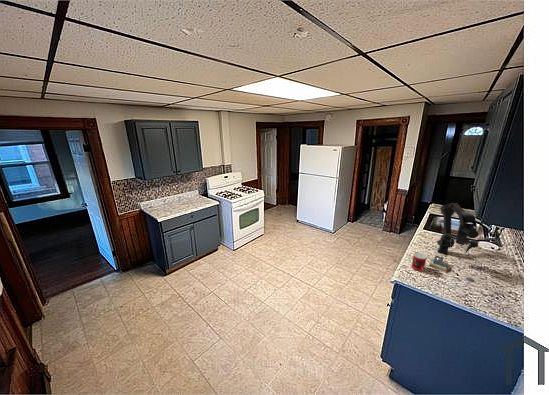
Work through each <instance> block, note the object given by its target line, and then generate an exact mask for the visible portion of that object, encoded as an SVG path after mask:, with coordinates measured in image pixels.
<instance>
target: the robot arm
mask: <svg viewBox="0 0 549 395" xmlns="http://www.w3.org/2000/svg"><path fill="white" fill-rule="evenodd" d="M440 213H441V215H442V216H443V226H442V227H443V229H442V230H443V233H442V235H441V236H440V239H439V240H437V242H436V243H437V245H438V249H437V253H439V254H443V255H445V256H448V253H449V249H450V248H453V246H454V245H455V244H457V245H461V246H465V245H467V247H466V250H465V252H464V253H466V254H467V253H468V252H469V251H470V249H473V248H474V249H475V248H478V247H479V240H475V239H476V238H478V237H479V235H480V234H479V231H477V228H476V227H477V220H476V217H475V215H474V214H471V213H469V212H467V211H466V210H465V209H463V208H462V207H461V206H460V205H459V203H457V202H451V203H450V202H449V203H447V204H443V205H441V206H440ZM454 214H456V215H458V223H459V226H458V229H457V233H456V236H453V234H452V216H453V215H454ZM468 237H469V238H468ZM470 239H471V240H470Z"/></svg>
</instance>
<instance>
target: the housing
mask: <svg viewBox="0 0 549 395" xmlns="http://www.w3.org/2000/svg"><path fill="white" fill-rule="evenodd" d="M433 258H434V262H433V264H436V265H439V266H442V262H443V261H444V257H442V256H439V255H437V254H436V255H434V257H433Z"/></svg>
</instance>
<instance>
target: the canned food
mask: <svg viewBox="0 0 549 395" xmlns="http://www.w3.org/2000/svg"><path fill="white" fill-rule="evenodd" d="M427 258H428V257H427V255H426V254H425V253H422V252H418V251H415V252H414V253H413V257H412V261H411V268H412V270H414V271H416V272H423V271H424V269H425V266H426V261H427Z"/></svg>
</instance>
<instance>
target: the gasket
mask: <svg viewBox="0 0 549 395" xmlns="http://www.w3.org/2000/svg"><path fill="white" fill-rule="evenodd" d="M465 280H466V281H468V282H470V283H474V282H475V279H473V278H472V277H468V276H467V277H465Z"/></svg>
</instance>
